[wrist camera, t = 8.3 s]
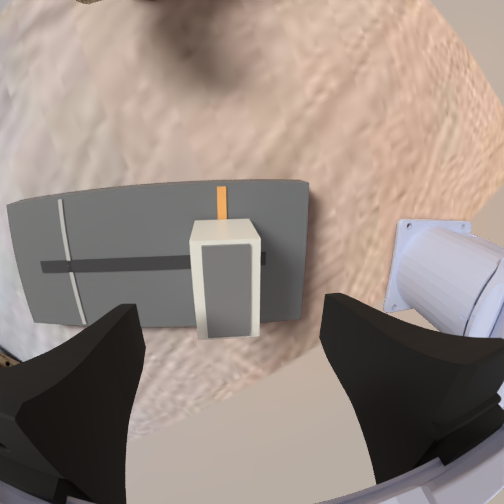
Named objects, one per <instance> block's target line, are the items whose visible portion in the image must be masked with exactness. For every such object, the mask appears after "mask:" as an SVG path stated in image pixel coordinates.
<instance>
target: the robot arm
mask: <svg viewBox="0 0 504 504" xmlns="http://www.w3.org/2000/svg"><path fill="white" fill-rule="evenodd" d="M408 223H409V226H408V228H407V224H408ZM471 228H472V224H471V222H469V221H459V220H431V219H401V220H399V222H398V224H397V230H396V238H395V245H394V252H393V258H392V264H391V270H390V275H389V281H388V286H387V291H386V296H385V301H384V305H383V310H384V311H385V312H386V313H391V312H396V311H402V310H407V309H413V308H414V309H415V310H416V311H417V312H418V313H420V314H421V315H422V316H423V317H424V318H425V319H427V320H428V321H429V322H430V323H431V324H432V325H433V326H434V327H436V328H437V329H438V330H439V331H440V332H438V331H433V330H429V329H425V328H422V327H419V326H416V325H413V324H410V323H407V322H404V321H402V320H399V319H397V318H395V317H392V316H390V315H388V314H385V313H383V312H381V311H379V310H376V309H375V308H372V307H370V306H368V305H366V304H364V303H362V302H360V301H358V300H356V299H354V298H352V297H349V296H347V295H345V294H342V293H331V294H325V300H324V308H323V315H322V322H321V329H320V336H319V338H320V340H321V343H322V346H323V349H324V351H325V354H326V357H327V359H328V361H329V362H330V364H331V366H332V368H333V370H334V372H335V373H336V375H337V377H338V379H339V381H340V383H341V384H342V386H343V388H344V389H345V391H346V393H347V395H348V397H349V399H350V401H351V403H352V405H353V408H354V410H355V413H356V416H357V418H358V421H359V423H360V426H361V429H362V432H363V435H364V438H365V441H366V444H367V447H368V451H369V455H370V458H371V462H372V466H373V470H374V475H375V479H376V485H375V486H373V487H370V488H367V489H364V490H361V491H358V492H355V493H352V494H349V495H346V496H342V497H338V498H335V499H331V500H328V501H323V502H319V503H315V504H486V503H488V501H490V500H491V499H492V498H493V497H494V496H495V495H496V494H498V493H499V492H500V491H501V490H502V489H503V488H504V248H503V247H501V246H499V245H497V244H495V243H492V242H490V241H488V240H486V239H483V238H481V237H479V236H476V235H474V234H471ZM393 305H394V307H393ZM145 349H146V346H145V342H144V338H143V334H142V329H141V325H140V320H139V315H138V310H137V305H136V304H120V305H118V306H116V307H115V308H113V309H112V310H111V311H109V312H108V313H106V314H105V315H104V316H102V317H101V318H100V319H98V320H97V321H96V322H94V323H93V324H91V325H90V326H89V327H87V328H86V329H84V330H83V331H81V332H80V333H78V334H77V335H75V336H74V337H72V338H71V339H69V340H68V341H66V342H64V343H63V344H61V345H59V346H57V347H56V348H54V349H52V350H50V351H48V352H46V353H44V354H41V355H39V356H37V357H34V358H32V359H30V360H27V361H25V362H22V363H19V364H16V365H13V366H10V367H7V368H3V369H0V504H126V489H125V460H126V443H127V433H128V424H129V419H130V414H131V410H132V406H133V402H134V399H135V395H136V391H137V388H138V384H139V381H140V377H141V373H142V370H143V364H144V357H145Z"/></svg>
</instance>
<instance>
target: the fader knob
mask: <svg viewBox="0 0 504 504" xmlns="http://www.w3.org/2000/svg"><path fill="white" fill-rule="evenodd" d="M189 244H190V258H191V271H192V283H193V294H194V304H195V314H196V323H197V332H198V340H207V339H228V338H244V337H257V336H259V323H260V257H261V238H260V236H259V235H258V233H257V231H256V230H255V228H254V226H253V224H252V223H251V221H250V219H221V220H195V222H194V226H193V229H192V233H191V237H190V241H189Z"/></svg>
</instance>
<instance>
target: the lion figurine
mask: <svg viewBox="0 0 504 504" xmlns="http://www.w3.org/2000/svg"><path fill="white" fill-rule="evenodd" d="M76 1H78V2H81V3H83V4H91V3H94V2H98V1H101V0H76Z"/></svg>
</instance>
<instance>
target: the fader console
mask: <svg viewBox="0 0 504 504" xmlns="http://www.w3.org/2000/svg"><path fill="white" fill-rule="evenodd" d="M308 201H309V183H308V182H305V181H301V180H274V179H255V180H208V181H186V182H168V183H154V184H141V185H129V186H119V187H109V188H100V189H91V190H83V191H75V192H68V193H61V194H54V195H48V196H41V197H35V198H30V199H24V200H20V201H17V202H14V203H11V204H8V205H7V213H8V220H9V226H10V232H11V238H12V243H13V248H14V253H15V258H16V262H17V266H18V270H19V274H20V278H21V282H22V286H23V289H24V292H25V296H26V299H27V302H28V305H29V309H30V312H31V314H32V317H33V320H34V322H35V323H47V324H62V325H79V326H90V325H91V324H93V323H94V322H96V321H97V320H98V319H100V318H101V317H102V316H104V315H105V314H106V313H108V312H109V311H111V310H112V309H113V308H115V307H116V306H118V305H120V304H136V305H137V310H138V315H139V320H140V325H141V327H185V326H197V323H196V314H195V304H194V294H193V283H192V271H191V258H190V244H189V241H190V237H191V233H192V229H193V226H194V222H195V220H221V219H250V221H251V223H252V224H253V226H254V228H255V230H256V231H257V233H258V235H259V236H260V238H261V257H260V323H262V322H274V321H285V320H296V319H300V318H301V307H302V296H303V284H304V271H305V257H306V241H307V223H308Z"/></svg>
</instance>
